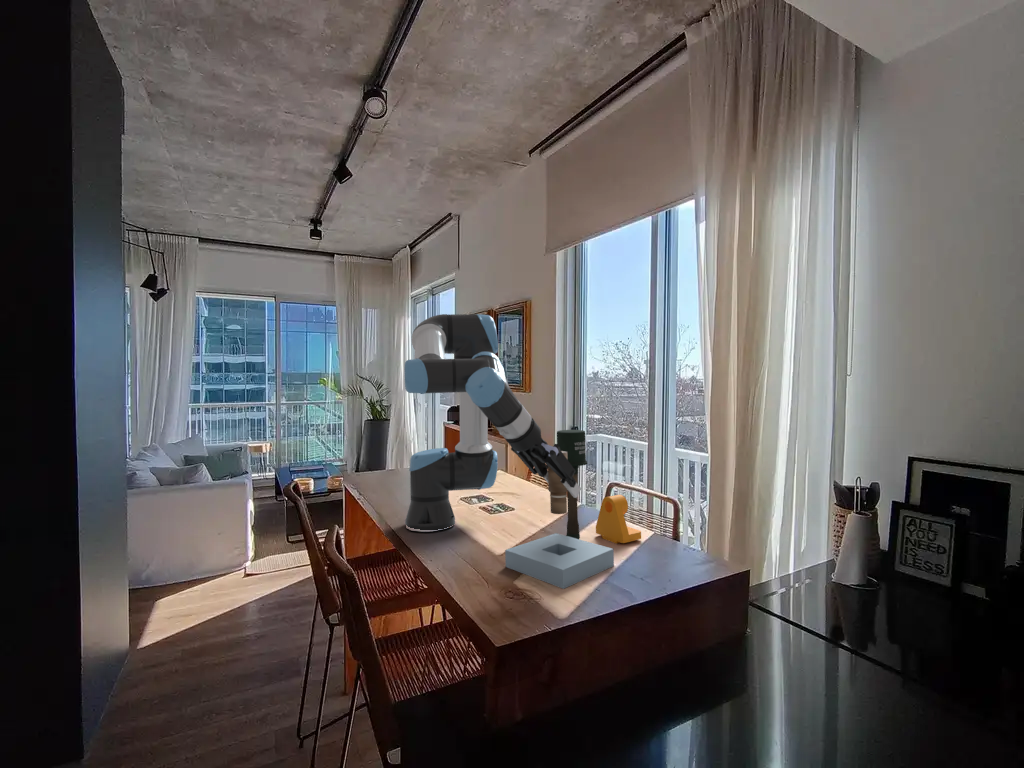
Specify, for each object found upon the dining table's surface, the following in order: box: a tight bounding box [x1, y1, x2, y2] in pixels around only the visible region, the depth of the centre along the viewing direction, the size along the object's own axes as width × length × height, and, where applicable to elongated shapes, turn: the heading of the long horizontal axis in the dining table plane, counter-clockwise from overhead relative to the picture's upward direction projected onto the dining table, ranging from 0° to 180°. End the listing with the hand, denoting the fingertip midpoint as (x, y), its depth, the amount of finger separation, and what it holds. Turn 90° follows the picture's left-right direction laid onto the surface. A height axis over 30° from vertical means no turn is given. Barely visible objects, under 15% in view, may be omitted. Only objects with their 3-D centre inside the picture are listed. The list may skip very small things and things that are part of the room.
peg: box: [547, 451, 568, 515], centre depth 116 cm, size 5×5×14 cm
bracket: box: [595, 494, 642, 545], centre depth 136 cm, size 11×7×12 cm, turn 31°
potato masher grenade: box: [556, 429, 588, 540], centre depth 135 cm, size 8×9×30 cm
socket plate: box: [504, 532, 615, 590], centre depth 116 cm, size 18×18×4 cm
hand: (568, 491), depth 119 cm, fingers closed on peg, 4 cm apart
